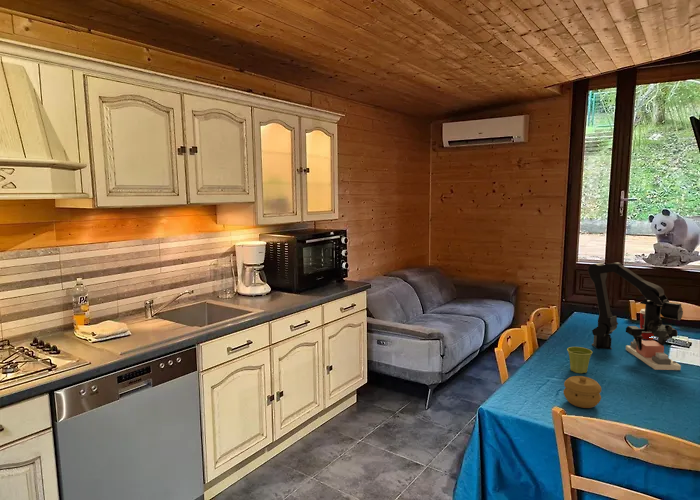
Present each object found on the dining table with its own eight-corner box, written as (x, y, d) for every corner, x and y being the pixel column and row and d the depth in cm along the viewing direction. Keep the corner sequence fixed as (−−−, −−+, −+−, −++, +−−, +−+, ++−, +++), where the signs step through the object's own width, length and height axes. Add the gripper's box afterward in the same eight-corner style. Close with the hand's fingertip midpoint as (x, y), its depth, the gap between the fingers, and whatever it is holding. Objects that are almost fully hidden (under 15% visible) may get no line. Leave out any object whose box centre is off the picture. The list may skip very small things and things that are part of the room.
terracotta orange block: (636, 351, 212) (636, 340, 211) (653, 351, 211) (654, 340, 211) (645, 357, 205) (645, 346, 204) (663, 357, 204) (664, 346, 203)
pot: (604, 414, 159) (606, 385, 158) (565, 410, 162) (567, 381, 161) (596, 399, 170) (598, 372, 169) (560, 395, 173) (562, 369, 172)
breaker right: (659, 360, 197) (660, 355, 197) (655, 357, 201) (655, 352, 200) (667, 360, 197) (668, 355, 197) (663, 357, 200) (663, 352, 200)
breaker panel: (654, 369, 197) (655, 360, 196) (625, 349, 220) (626, 341, 220) (680, 370, 196) (681, 360, 195) (648, 350, 220) (649, 341, 219)
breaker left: (637, 345, 215) (637, 341, 215) (633, 343, 218) (633, 338, 218) (644, 345, 215) (644, 341, 215) (640, 343, 218) (641, 339, 218)
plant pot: (565, 372, 194) (566, 352, 193) (566, 365, 202) (567, 345, 201) (591, 376, 190) (592, 355, 189) (591, 368, 198) (592, 348, 197)
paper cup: (659, 340, 233) (661, 312, 231) (643, 340, 233) (645, 312, 231) (649, 335, 241) (651, 308, 239) (634, 335, 241) (636, 308, 239)
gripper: (639, 320, 198) (636, 356, 200) (687, 320, 197) (683, 357, 199) (626, 313, 209) (623, 347, 211) (671, 313, 208) (668, 348, 210)
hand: (649, 350), depth 208 cm, fingers open, 8 cm apart
